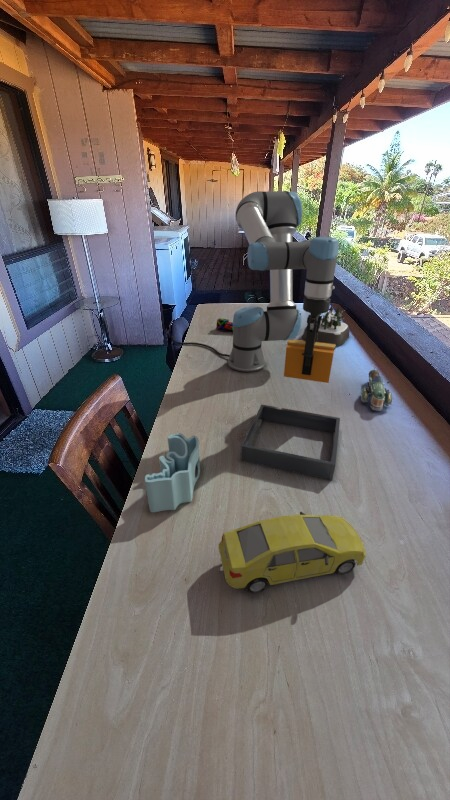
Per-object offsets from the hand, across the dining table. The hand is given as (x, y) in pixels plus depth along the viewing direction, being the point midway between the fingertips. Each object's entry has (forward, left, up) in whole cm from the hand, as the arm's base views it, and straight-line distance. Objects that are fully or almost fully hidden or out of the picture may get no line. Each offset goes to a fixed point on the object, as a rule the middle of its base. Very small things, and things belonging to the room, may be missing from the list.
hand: (307, 368), depth 112 cm
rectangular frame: (0, -23, -14) cm, 27 cm away
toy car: (+6, -60, -14) cm, 62 cm away
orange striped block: (0, 0, -2) cm, 2 cm away
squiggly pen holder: (-25, -48, -14) cm, 55 cm away
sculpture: (-38, +63, -14) cm, 75 cm away
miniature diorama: (+2, +68, -14) cm, 70 cm away
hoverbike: (+23, +15, -14) cm, 31 cm away
